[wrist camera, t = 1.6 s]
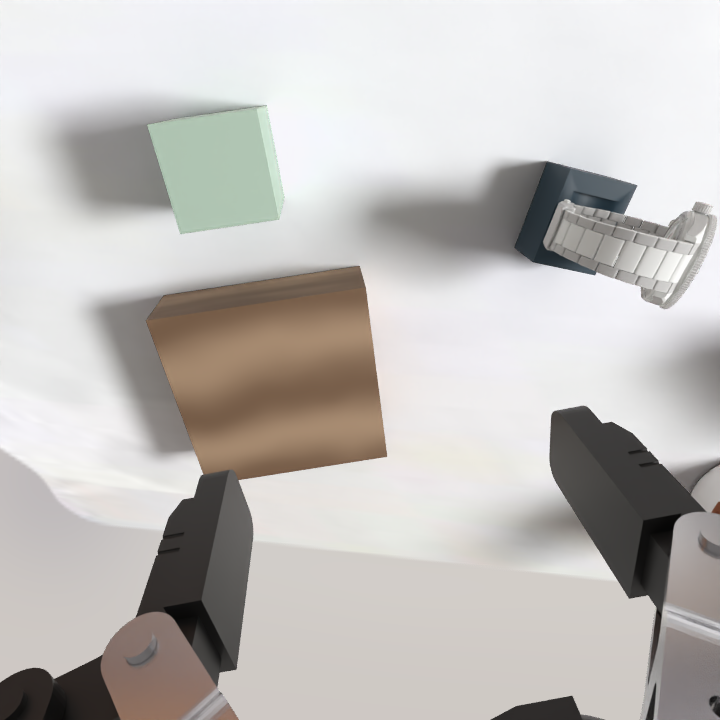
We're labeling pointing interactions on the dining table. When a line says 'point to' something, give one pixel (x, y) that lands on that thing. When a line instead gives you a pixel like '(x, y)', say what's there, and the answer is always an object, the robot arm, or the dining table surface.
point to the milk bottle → (709, 491)
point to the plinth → (274, 372)
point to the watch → (613, 234)
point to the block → (219, 168)
